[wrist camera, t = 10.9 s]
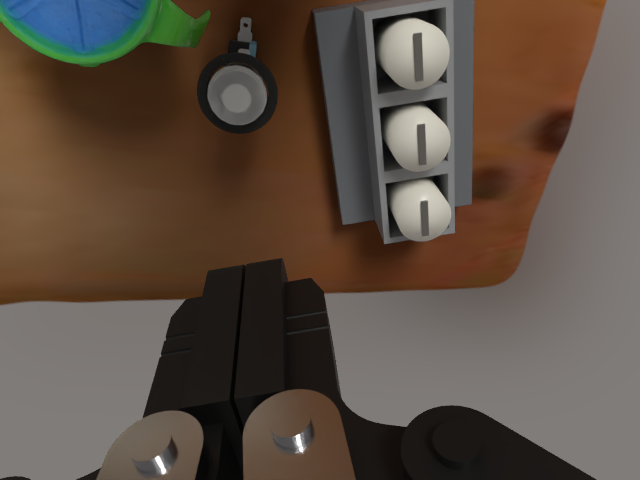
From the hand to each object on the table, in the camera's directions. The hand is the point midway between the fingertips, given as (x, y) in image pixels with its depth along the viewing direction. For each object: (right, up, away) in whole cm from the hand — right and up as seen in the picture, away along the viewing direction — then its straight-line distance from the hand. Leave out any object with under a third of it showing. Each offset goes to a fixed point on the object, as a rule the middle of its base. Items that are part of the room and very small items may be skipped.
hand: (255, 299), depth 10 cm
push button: (-5, +16, +31) cm, 35 cm away
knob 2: (+9, +6, +33) cm, 35 cm away
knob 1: (+7, +16, +28) cm, 33 cm away
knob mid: (+8, +11, +31) cm, 33 cm away
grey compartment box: (+8, +13, +34) cm, 37 cm away
